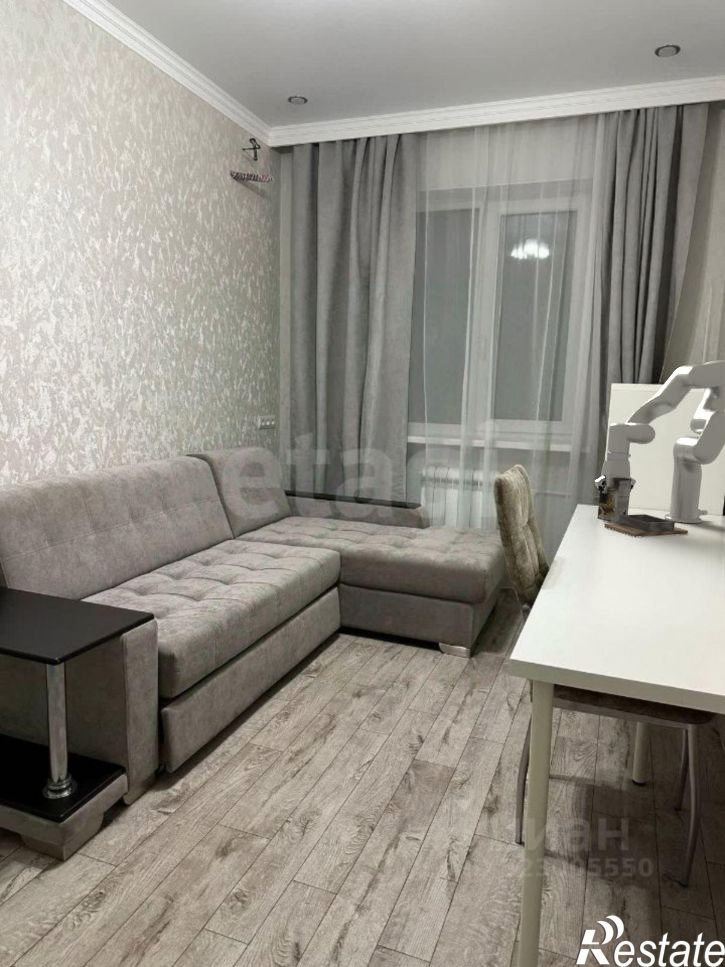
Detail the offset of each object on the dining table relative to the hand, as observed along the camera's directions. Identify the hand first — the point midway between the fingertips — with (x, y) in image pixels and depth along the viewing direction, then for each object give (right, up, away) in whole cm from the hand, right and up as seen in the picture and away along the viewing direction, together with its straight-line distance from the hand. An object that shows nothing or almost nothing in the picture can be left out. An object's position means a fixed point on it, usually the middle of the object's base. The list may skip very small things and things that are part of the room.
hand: (613, 502), depth 242 cm
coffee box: (0, -7, +1) cm, 7 cm away
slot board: (+5, -9, -17) cm, 20 cm away
